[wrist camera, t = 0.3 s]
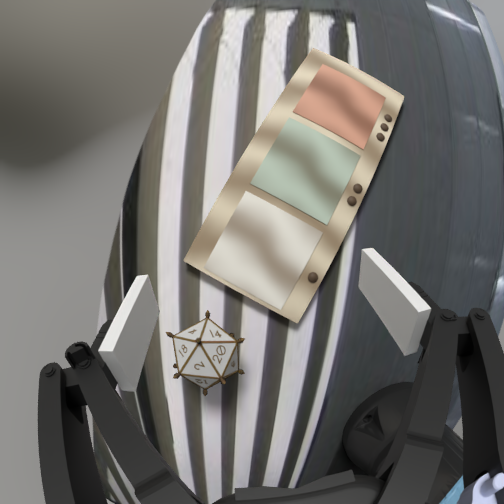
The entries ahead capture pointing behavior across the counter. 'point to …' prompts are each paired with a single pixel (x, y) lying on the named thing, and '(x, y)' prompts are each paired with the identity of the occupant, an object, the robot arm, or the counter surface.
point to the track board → (298, 185)
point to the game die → (206, 354)
